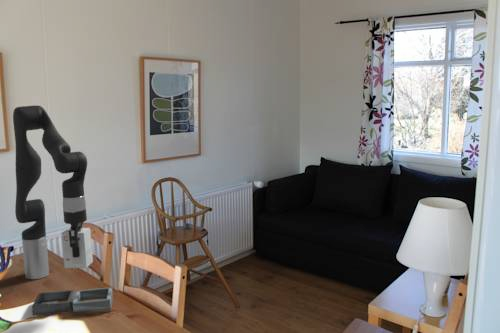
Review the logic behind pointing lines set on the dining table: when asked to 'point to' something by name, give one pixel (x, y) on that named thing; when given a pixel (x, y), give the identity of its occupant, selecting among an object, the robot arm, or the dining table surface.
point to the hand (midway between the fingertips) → (78, 253)
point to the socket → (53, 307)
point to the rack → (93, 301)
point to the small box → (84, 249)
